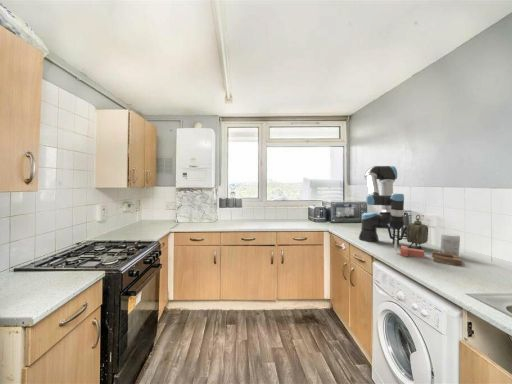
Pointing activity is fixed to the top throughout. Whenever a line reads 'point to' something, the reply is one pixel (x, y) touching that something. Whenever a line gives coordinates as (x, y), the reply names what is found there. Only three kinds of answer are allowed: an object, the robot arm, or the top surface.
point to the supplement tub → (450, 243)
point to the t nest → (446, 258)
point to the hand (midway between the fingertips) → (395, 249)
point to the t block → (411, 252)
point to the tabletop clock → (417, 233)
